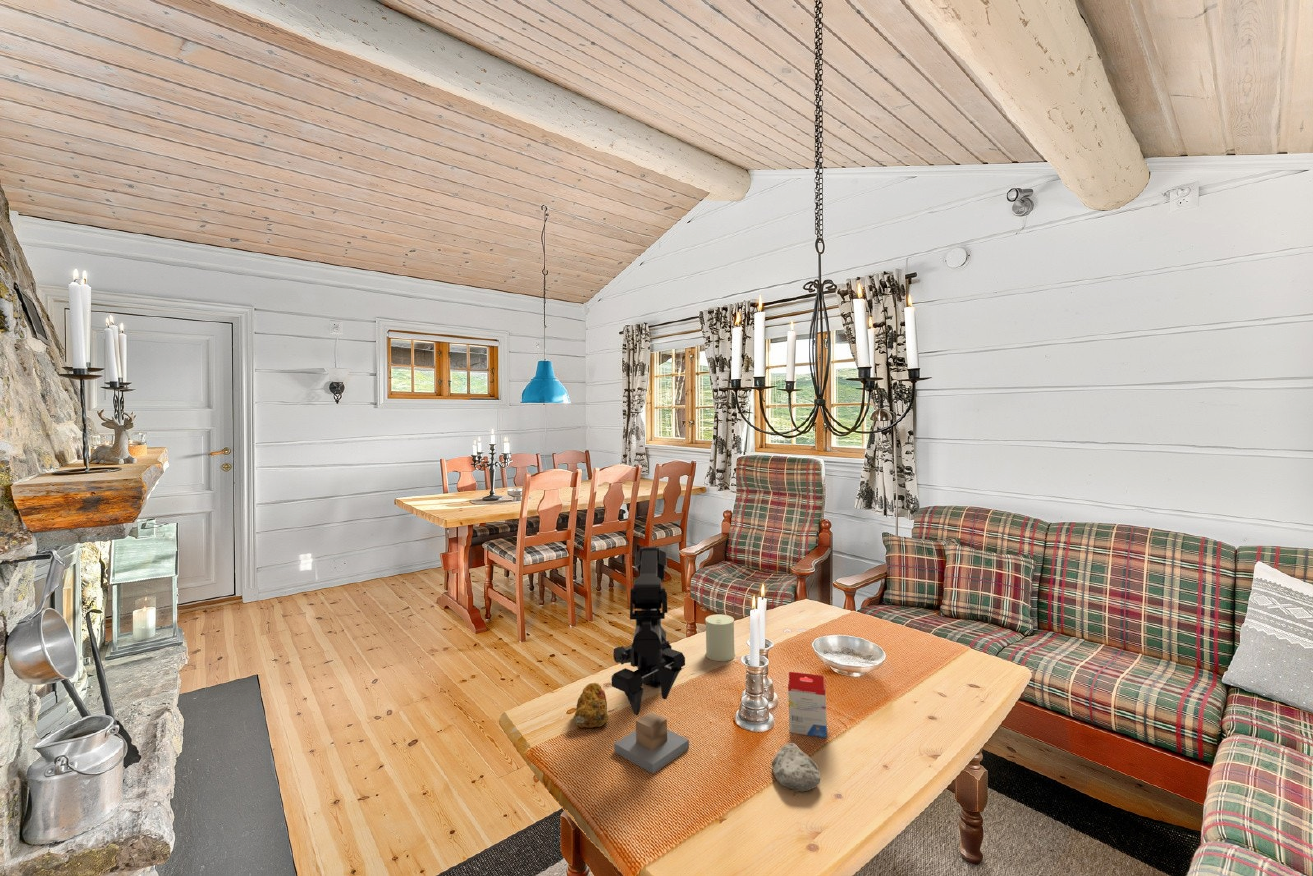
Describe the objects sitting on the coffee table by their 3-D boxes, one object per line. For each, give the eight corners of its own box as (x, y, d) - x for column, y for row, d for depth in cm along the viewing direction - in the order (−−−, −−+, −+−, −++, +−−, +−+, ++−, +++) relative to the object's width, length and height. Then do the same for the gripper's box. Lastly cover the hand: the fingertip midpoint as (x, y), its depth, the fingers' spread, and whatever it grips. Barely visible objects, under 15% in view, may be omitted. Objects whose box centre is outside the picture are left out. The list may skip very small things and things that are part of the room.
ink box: (827, 727, 132) (826, 667, 131) (826, 739, 127) (825, 676, 127) (790, 722, 135) (789, 663, 134) (788, 733, 130) (787, 671, 130)
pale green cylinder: (704, 660, 170) (703, 622, 170) (707, 648, 179) (706, 612, 179) (734, 662, 169) (733, 623, 168) (735, 649, 178) (734, 613, 178)
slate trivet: (650, 729, 133) (650, 721, 133) (689, 748, 125) (688, 739, 125) (614, 752, 124) (614, 743, 124) (653, 774, 116) (652, 764, 116)
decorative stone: (835, 785, 111) (835, 761, 111) (794, 803, 106) (794, 778, 106) (794, 753, 122) (793, 731, 122) (755, 769, 117) (754, 746, 117)
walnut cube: (651, 732, 128) (650, 711, 128) (667, 740, 125) (666, 719, 124) (636, 742, 124) (635, 720, 124) (652, 750, 121) (651, 728, 121)
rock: (612, 733, 139) (608, 720, 132) (580, 742, 138) (574, 729, 131) (605, 689, 147) (601, 674, 140) (574, 696, 146) (568, 682, 138)
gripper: (651, 619, 136) (652, 681, 136) (593, 642, 122) (595, 711, 123) (685, 629, 128) (687, 695, 129) (628, 655, 115) (630, 729, 115)
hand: (650, 706), depth 124 cm, fingers open, 9 cm apart
